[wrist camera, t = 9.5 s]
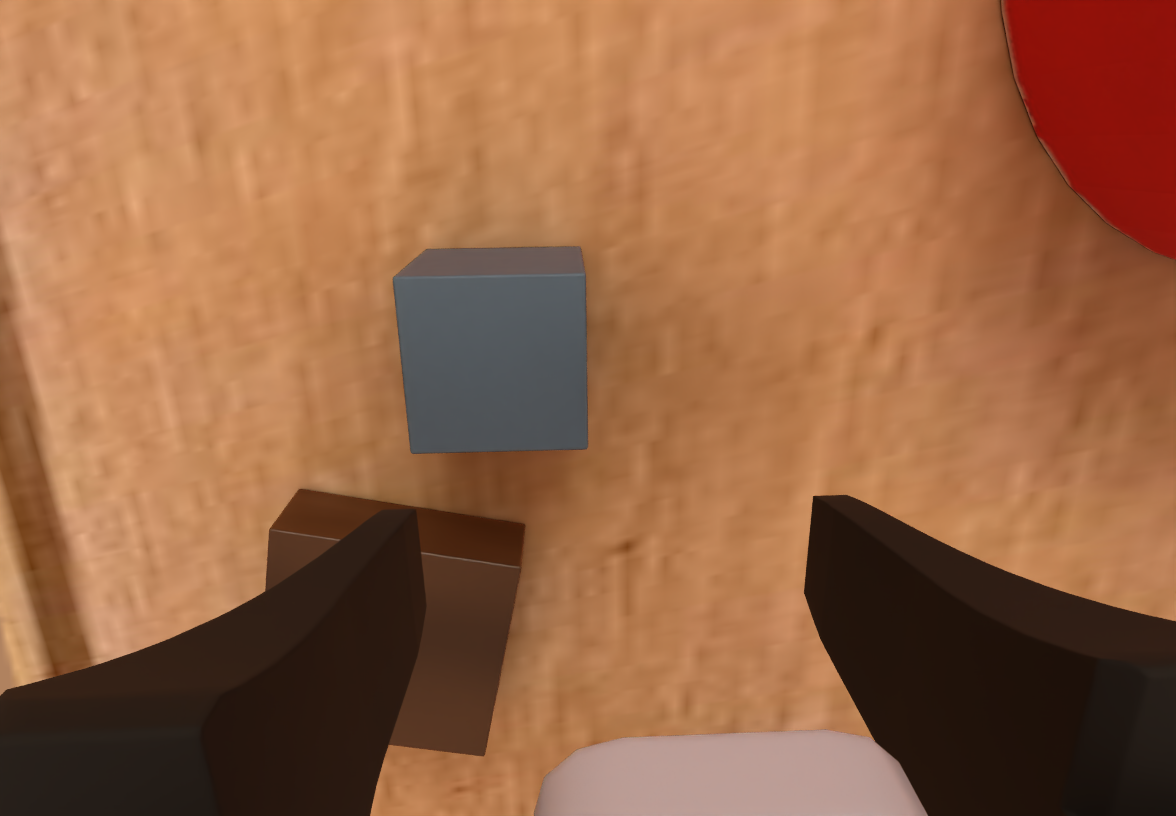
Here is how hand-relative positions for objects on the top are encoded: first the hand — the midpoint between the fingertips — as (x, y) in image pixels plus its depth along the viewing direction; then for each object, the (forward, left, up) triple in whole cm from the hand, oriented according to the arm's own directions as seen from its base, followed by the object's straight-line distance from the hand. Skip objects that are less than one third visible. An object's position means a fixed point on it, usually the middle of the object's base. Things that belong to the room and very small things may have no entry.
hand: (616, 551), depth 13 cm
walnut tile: (-9, +5, -10) cm, 14 cm away
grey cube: (+1, +3, -10) cm, 10 cm away
